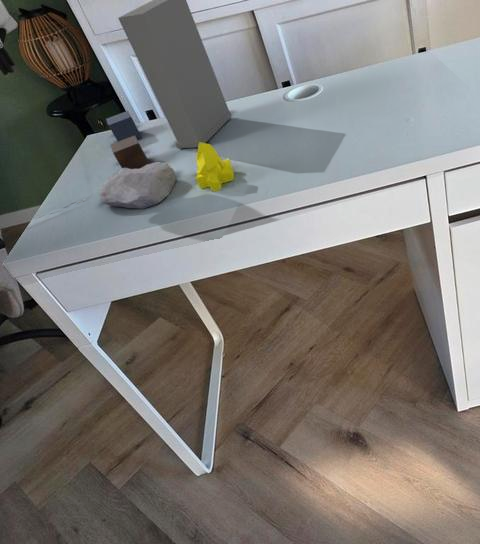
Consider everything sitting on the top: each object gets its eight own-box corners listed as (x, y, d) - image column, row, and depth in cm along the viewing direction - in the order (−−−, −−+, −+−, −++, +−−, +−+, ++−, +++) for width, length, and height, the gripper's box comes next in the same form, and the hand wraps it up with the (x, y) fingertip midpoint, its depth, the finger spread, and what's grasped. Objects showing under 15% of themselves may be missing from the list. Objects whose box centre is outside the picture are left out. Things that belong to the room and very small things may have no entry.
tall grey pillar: (209, 119, 110) (157, -4, 94) (232, 117, 108) (183, -9, 92) (177, 149, 100) (113, 18, 84) (202, 148, 98) (142, 13, 82)
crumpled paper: (233, 165, 89) (217, 125, 84) (233, 186, 83) (215, 144, 78) (202, 173, 89) (184, 134, 84) (200, 195, 83) (180, 154, 78)
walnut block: (126, 175, 95) (112, 152, 92) (122, 167, 99) (109, 144, 95) (151, 165, 96) (138, 142, 93) (146, 157, 100) (134, 135, 97)
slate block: (120, 146, 108) (108, 125, 105) (117, 139, 111) (105, 118, 108) (142, 137, 109) (131, 116, 106) (138, 131, 113) (127, 110, 109)
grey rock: (165, 214, 84) (181, 174, 90) (149, 194, 80) (167, 154, 86) (107, 222, 87) (126, 183, 93) (88, 204, 83) (110, 164, 89)
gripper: (-130, -33, 70) (-38, 91, 82) (-20, -61, 74) (52, 62, 86) (-118, -35, 76) (-34, 82, 87) (-16, -61, 80) (51, 54, 91)
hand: (9, 72), depth 87 cm, fingers closed
